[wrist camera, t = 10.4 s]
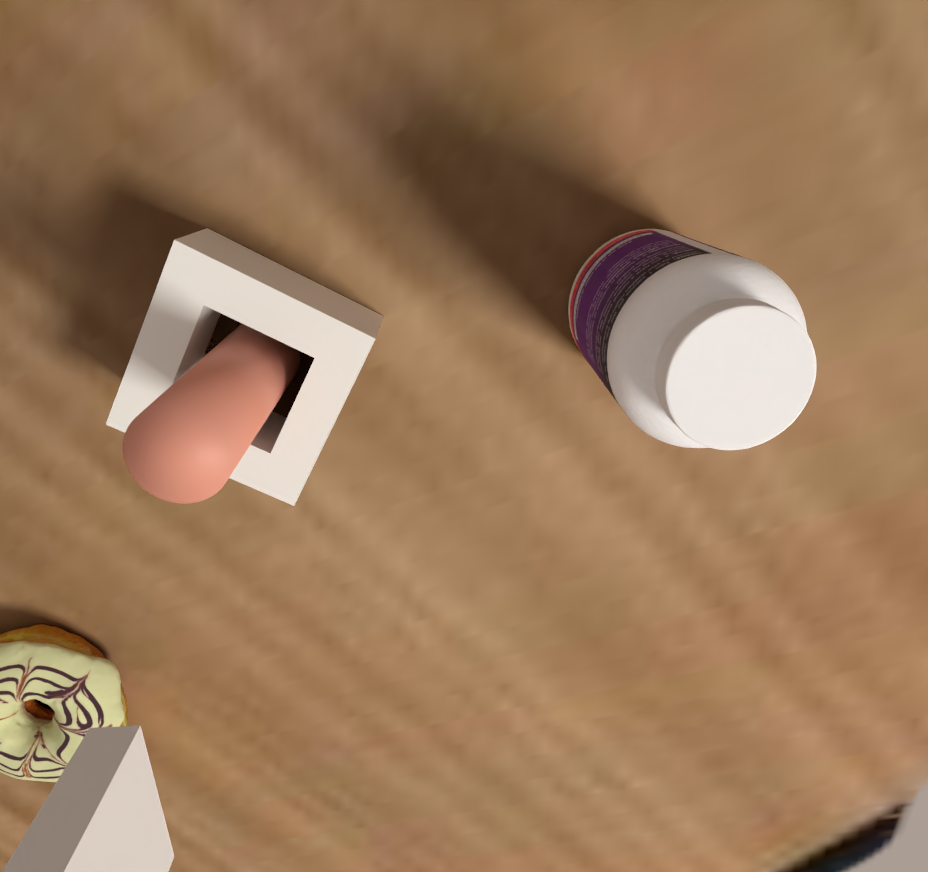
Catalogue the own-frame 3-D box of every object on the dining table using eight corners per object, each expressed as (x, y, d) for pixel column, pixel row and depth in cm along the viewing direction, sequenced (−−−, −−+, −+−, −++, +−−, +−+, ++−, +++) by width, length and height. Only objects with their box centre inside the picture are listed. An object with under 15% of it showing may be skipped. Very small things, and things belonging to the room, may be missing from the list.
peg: (242, 306, 39) (142, 386, 26) (311, 339, 40) (248, 433, 27) (215, 370, 40) (108, 476, 27) (283, 401, 41) (210, 519, 28)
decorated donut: (141, 630, 47) (117, 669, 43) (136, 757, 51) (113, 802, 47) (-29, 606, 46) (-68, 644, 42) (-22, 738, 50) (-57, 783, 46)
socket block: (207, 228, 38) (174, 239, 33) (383, 316, 40) (375, 338, 35) (144, 392, 41) (105, 424, 36) (310, 466, 43) (294, 505, 38)
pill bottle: (557, 369, 41) (612, 478, 28) (574, 221, 38) (645, 261, 25) (698, 377, 41) (821, 488, 28) (726, 231, 38) (878, 276, 25)
